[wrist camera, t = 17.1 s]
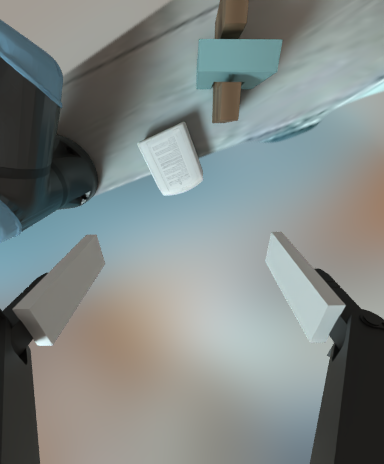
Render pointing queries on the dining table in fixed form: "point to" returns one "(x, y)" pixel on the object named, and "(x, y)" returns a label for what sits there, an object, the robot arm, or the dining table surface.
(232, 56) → the teal slotted plate
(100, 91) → the dining table surface
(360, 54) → the dining table surface
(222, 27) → the walnut slotted board
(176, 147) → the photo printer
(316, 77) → the dining table surface
